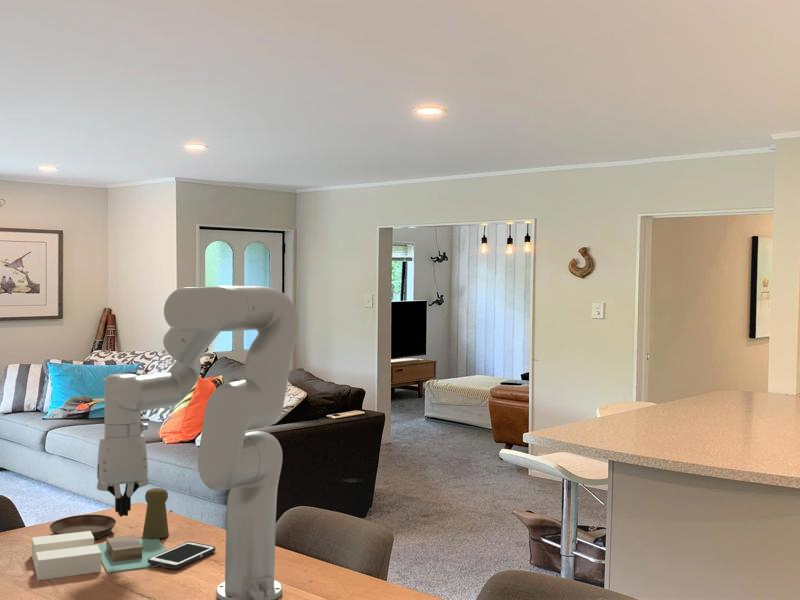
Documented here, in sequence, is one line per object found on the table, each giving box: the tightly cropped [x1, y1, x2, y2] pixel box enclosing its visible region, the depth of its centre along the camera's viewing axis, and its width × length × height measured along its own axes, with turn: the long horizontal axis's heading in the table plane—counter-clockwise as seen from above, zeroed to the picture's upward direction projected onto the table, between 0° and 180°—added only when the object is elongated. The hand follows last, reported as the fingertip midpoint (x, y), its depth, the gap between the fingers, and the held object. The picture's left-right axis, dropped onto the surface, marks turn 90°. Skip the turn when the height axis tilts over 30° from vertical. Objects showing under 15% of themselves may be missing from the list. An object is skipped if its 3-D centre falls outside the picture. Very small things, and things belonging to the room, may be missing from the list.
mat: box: [95, 538, 168, 574], centre depth 178 cm, size 19×14×1 cm
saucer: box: [49, 514, 117, 540], centre depth 192 cm, size 15×15×3 cm
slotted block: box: [31, 531, 102, 581], centre depth 171 cm, size 16×12×4 cm
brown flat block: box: [105, 534, 142, 562], centre depth 178 cm, size 9×6×2 cm, turn 29°
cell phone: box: [148, 541, 216, 570], centre depth 176 cm, size 8×15×1 cm, turn 158°
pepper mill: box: [142, 487, 170, 539], centre depth 191 cm, size 6×6×11 cm
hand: (122, 514), depth 176 cm, fingers closed
